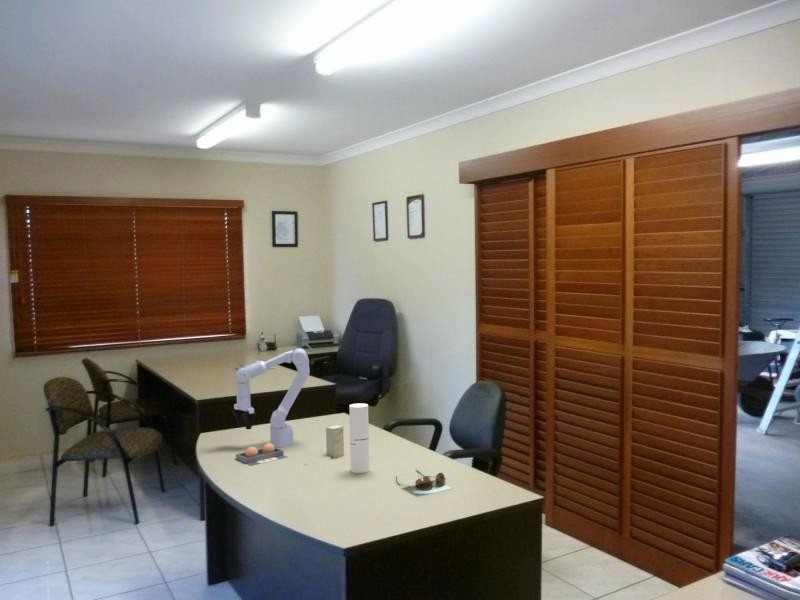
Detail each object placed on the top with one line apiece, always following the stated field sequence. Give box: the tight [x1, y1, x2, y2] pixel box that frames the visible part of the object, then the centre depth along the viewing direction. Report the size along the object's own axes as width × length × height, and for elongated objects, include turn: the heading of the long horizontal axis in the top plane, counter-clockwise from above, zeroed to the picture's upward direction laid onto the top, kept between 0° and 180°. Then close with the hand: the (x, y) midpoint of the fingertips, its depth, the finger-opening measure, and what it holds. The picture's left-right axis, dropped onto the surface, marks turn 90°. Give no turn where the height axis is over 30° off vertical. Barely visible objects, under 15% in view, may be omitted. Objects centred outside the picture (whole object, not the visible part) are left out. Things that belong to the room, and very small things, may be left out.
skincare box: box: [325, 424, 345, 459], centre depth 262 cm, size 6×4×12 cm
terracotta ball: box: [244, 446, 258, 458], centre depth 257 cm, size 5×5×5 cm
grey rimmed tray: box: [235, 447, 288, 467], centre depth 258 cm, size 17×13×3 cm
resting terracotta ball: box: [261, 442, 275, 454], centre depth 262 cm, size 5×5×5 cm
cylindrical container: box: [348, 402, 370, 474], centre depth 243 cm, size 7×7×25 cm
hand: (244, 427), depth 275 cm, fingers open, 7 cm apart
